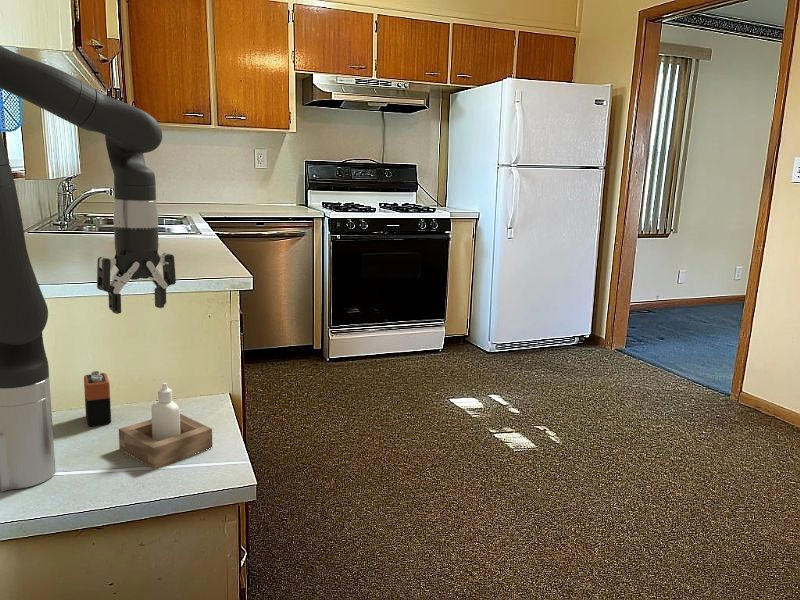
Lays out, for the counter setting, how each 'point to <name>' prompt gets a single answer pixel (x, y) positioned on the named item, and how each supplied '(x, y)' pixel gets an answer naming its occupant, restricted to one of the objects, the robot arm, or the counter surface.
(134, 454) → the walnut open box
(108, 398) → the battery
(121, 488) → the counter surface
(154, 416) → the eye dropper bottle
